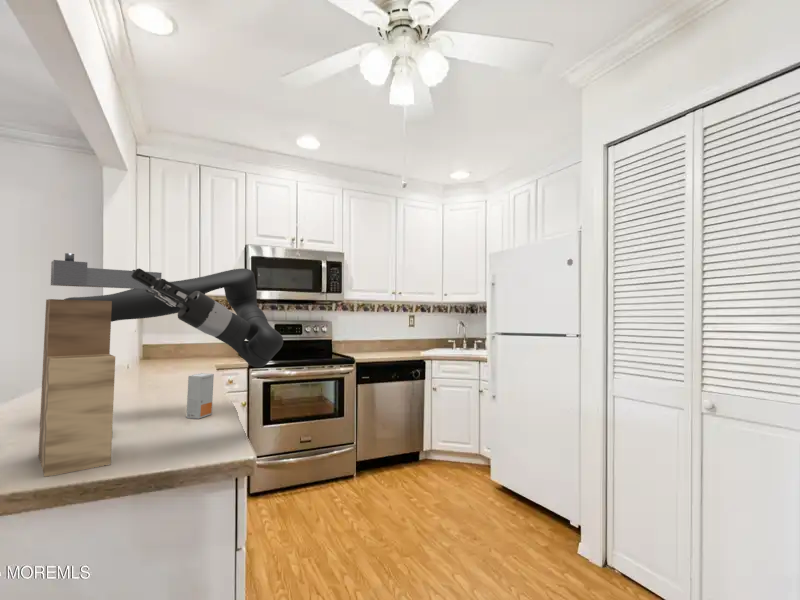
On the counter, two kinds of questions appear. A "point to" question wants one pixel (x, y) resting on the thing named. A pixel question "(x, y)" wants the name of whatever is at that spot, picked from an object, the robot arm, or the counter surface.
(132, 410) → the counter surface
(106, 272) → the dark grey bar piece
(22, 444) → the counter surface
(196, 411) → the skincare box
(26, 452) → the counter surface
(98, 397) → the upright wood plank
